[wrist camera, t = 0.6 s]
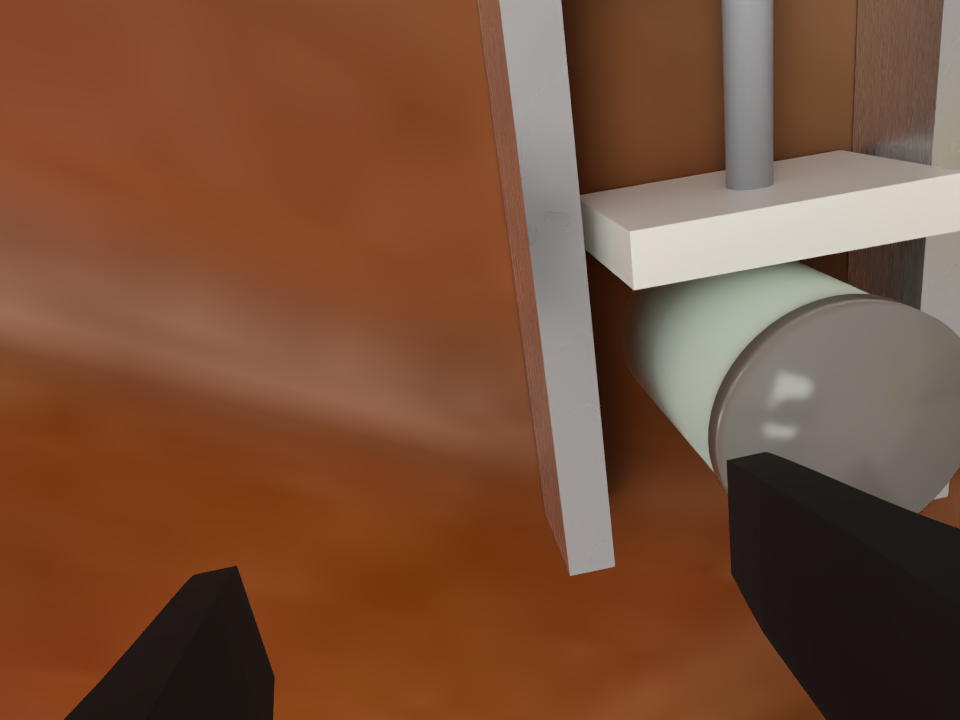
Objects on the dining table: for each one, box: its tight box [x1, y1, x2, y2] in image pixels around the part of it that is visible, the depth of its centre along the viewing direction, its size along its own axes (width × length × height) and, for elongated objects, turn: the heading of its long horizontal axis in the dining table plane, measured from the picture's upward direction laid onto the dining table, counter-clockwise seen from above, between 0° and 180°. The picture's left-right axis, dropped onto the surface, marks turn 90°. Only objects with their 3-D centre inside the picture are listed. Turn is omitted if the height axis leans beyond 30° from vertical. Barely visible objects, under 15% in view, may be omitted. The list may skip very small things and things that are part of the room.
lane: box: [477, 0, 960, 576], centre depth 18 cm, size 18×10×4 cm, turn 8°
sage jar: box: [621, 261, 960, 513], centre depth 18 cm, size 5×5×7 cm
